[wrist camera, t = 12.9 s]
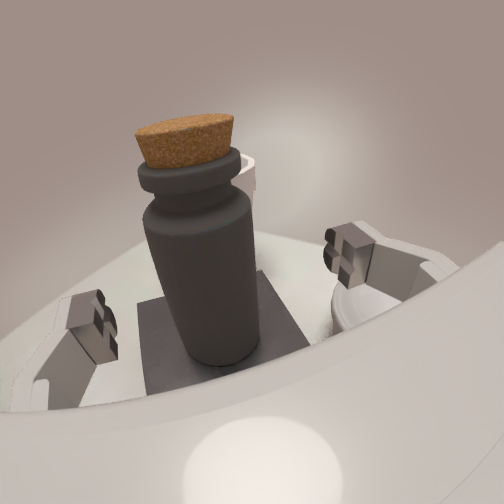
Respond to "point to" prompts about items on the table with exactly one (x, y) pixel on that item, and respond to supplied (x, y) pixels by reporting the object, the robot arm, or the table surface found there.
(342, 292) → the ramekin
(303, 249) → the table surface
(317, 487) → the robot arm
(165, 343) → the podium
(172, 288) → the bottle
